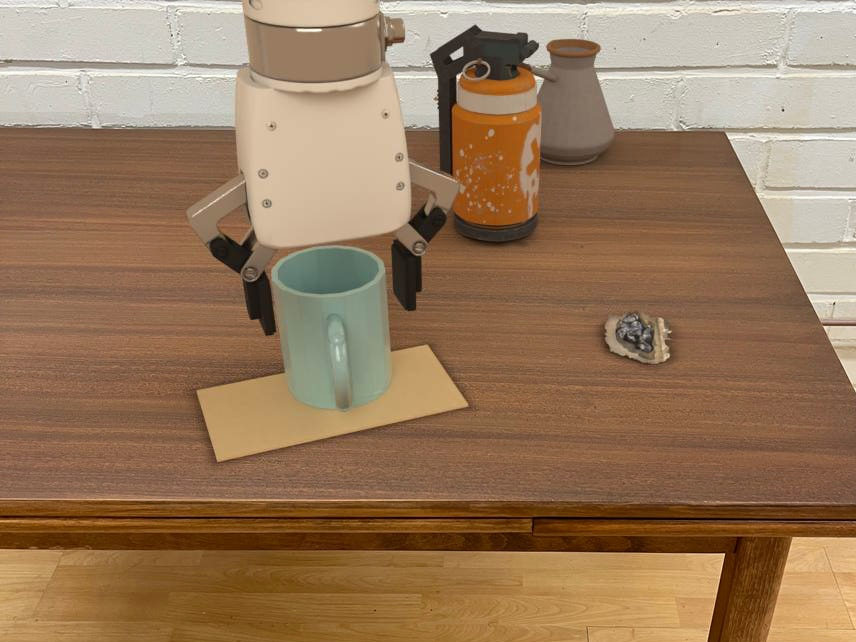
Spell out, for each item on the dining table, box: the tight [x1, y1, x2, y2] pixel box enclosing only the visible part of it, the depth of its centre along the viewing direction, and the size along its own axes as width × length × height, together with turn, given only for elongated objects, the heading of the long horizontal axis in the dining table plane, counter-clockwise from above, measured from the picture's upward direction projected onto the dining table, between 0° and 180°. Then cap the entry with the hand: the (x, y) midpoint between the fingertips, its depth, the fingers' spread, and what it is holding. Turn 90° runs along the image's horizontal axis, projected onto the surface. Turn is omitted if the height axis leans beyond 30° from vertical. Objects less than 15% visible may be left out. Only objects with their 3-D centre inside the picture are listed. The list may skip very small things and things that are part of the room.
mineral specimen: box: [603, 310, 673, 365], centre depth 84 cm, size 7×8×2 cm
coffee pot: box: [471, 38, 616, 166], centre depth 113 cm, size 21×12×15 cm, turn 130°
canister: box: [429, 24, 542, 243], centre depth 97 cm, size 9×11×20 cm
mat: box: [196, 344, 469, 463], centre depth 77 cm, size 20×10×1 cm, turn 112°
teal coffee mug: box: [270, 244, 392, 412], centre depth 75 cm, size 12×9×10 cm
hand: (337, 313), depth 65 cm, fingers open, 9 cm apart
